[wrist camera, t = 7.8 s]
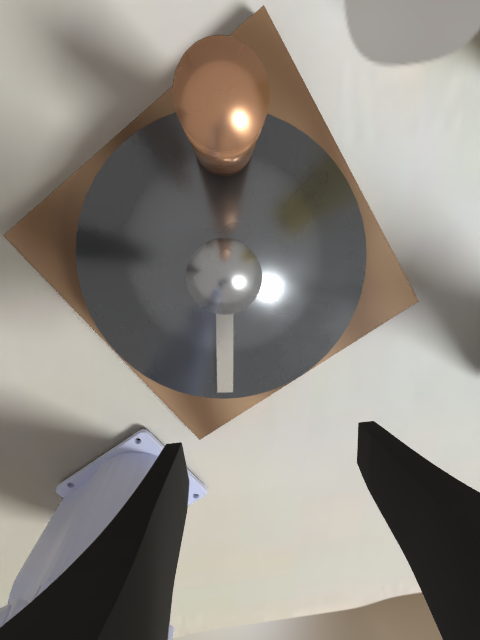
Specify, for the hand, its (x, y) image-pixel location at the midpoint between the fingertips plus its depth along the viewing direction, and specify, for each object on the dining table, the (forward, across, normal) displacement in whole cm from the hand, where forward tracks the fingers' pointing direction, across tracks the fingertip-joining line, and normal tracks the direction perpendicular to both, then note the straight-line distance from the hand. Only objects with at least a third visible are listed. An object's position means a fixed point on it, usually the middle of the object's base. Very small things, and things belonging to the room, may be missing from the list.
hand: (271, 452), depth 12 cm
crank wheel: (+8, +1, -6) cm, 10 cm away
